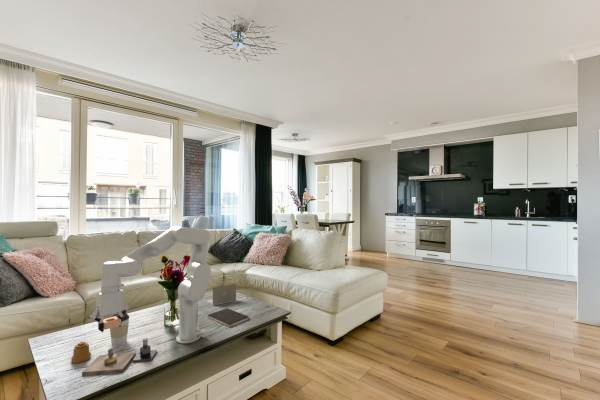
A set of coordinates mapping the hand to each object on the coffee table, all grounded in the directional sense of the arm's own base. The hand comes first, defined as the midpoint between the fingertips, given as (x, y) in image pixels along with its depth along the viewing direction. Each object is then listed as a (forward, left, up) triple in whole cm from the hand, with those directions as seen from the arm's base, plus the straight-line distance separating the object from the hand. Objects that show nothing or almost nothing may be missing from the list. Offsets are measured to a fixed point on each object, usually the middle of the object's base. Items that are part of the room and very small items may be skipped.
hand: (110, 328), depth 131 cm
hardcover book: (-48, -47, -18) cm, 70 cm away
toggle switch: (0, 0, -17) cm, 17 cm away
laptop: (-40, -82, -17) cm, 93 cm away
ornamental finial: (+16, -7, -17) cm, 24 cm away
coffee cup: (+6, -22, -17) cm, 29 cm away
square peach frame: (0, 0, +1) cm, 1 cm away
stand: (-13, -5, -17) cm, 22 cm away
